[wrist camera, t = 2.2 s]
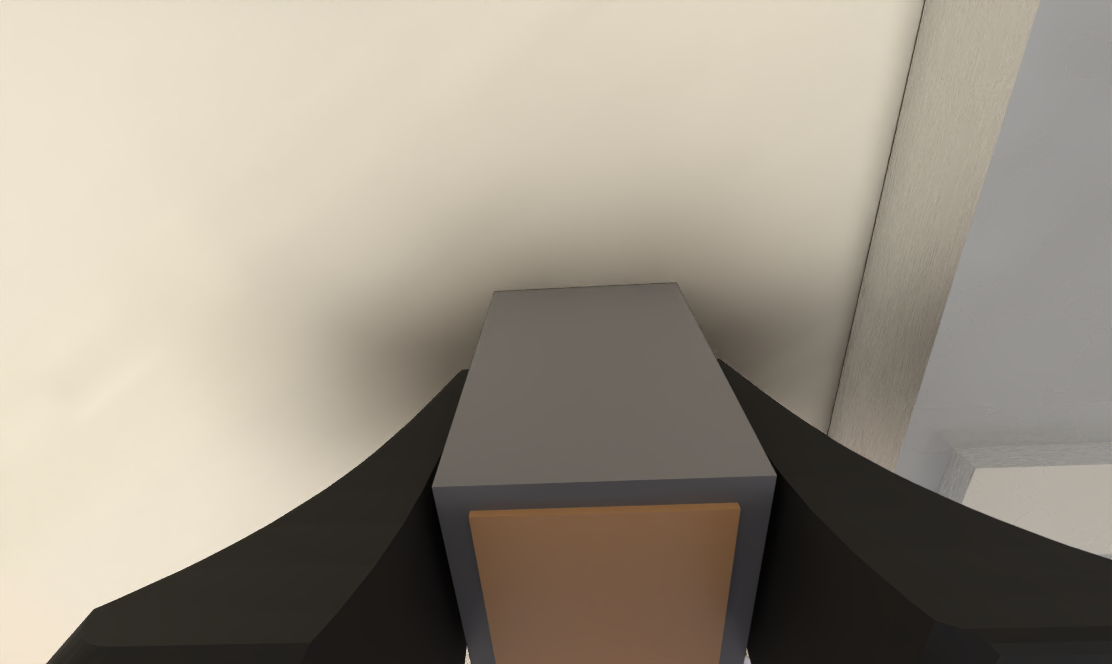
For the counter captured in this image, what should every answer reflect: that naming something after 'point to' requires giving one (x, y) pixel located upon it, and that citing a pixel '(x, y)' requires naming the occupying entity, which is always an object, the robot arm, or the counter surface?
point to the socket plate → (995, 272)
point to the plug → (601, 485)
